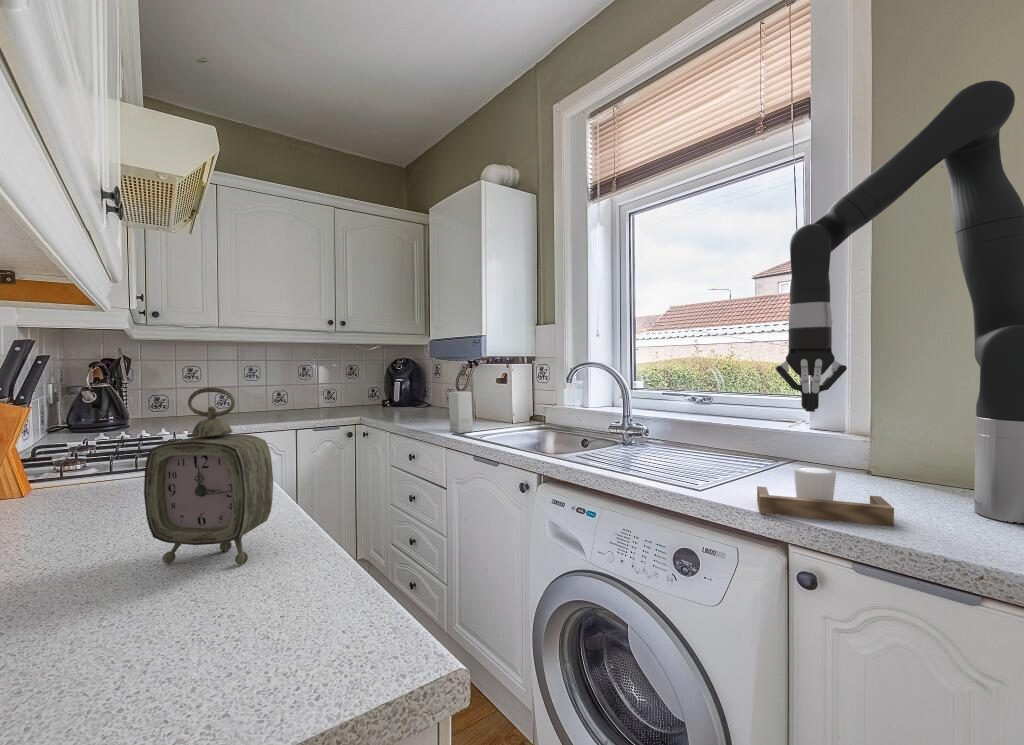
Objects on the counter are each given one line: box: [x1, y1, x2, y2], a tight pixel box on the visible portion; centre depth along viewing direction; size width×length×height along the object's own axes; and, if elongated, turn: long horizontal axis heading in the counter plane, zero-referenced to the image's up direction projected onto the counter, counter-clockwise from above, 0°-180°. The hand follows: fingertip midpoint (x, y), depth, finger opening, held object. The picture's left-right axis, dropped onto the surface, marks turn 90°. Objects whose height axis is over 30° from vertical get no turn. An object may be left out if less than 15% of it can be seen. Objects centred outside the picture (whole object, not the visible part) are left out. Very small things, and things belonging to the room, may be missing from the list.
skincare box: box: [448, 390, 474, 434], centre depth 193 cm, size 8×7×16 cm
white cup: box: [793, 466, 837, 501], centre depth 94 cm, size 7×7×7 cm
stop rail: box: [756, 485, 895, 527], centre depth 90 cm, size 20×8×3 cm, turn 67°
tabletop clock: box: [143, 387, 274, 565], centre depth 73 cm, size 14×9×25 cm, turn 87°
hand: (809, 411), depth 102 cm, fingers closed
